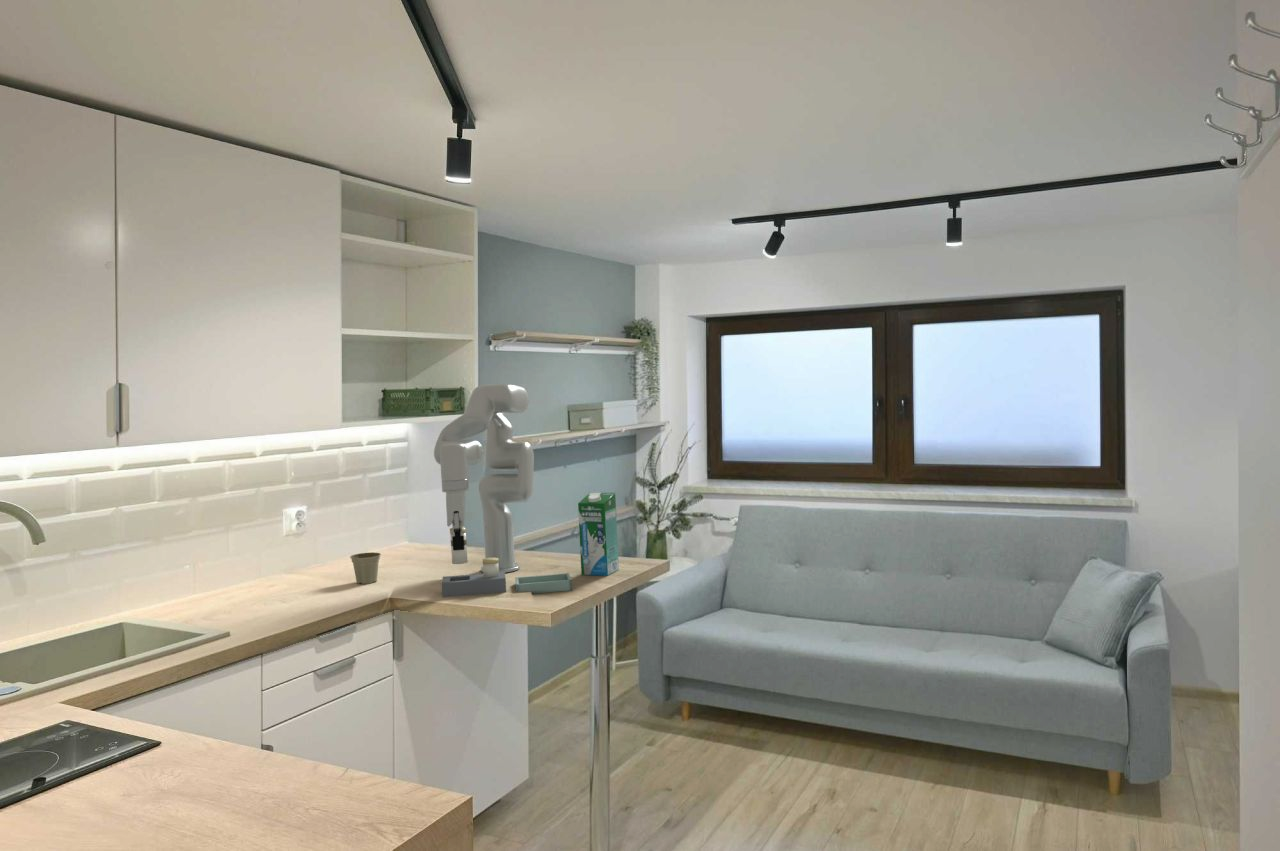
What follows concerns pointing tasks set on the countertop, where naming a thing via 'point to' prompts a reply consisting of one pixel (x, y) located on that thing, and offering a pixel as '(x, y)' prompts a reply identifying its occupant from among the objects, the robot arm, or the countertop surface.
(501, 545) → the robot arm
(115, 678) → the countertop surface
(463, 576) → the block
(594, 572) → the milk carton
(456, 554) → the fuse
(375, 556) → the flower pot
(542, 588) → the tray
